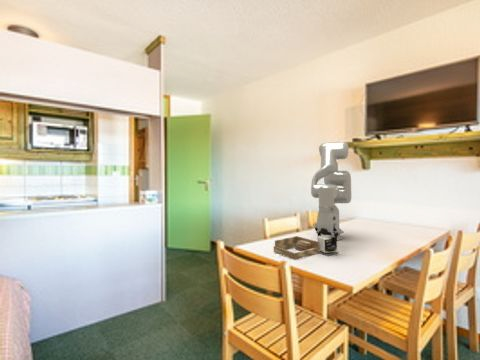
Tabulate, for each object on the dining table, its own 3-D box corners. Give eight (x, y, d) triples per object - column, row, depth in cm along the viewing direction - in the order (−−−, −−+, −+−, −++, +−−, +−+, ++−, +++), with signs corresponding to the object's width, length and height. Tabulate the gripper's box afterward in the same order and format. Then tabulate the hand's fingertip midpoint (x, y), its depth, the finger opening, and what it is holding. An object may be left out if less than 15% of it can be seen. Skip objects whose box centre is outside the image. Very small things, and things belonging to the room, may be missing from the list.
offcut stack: (300, 248, 148) (300, 239, 148) (312, 251, 141) (312, 242, 141) (295, 249, 146) (295, 240, 146) (307, 253, 139) (307, 244, 139)
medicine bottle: (325, 253, 134) (324, 229, 134) (317, 249, 141) (316, 226, 141) (337, 251, 136) (336, 228, 136) (329, 247, 143) (328, 225, 143)
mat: (326, 249, 144) (326, 248, 144) (338, 253, 138) (338, 252, 137) (315, 252, 140) (315, 251, 140) (328, 256, 133) (328, 255, 133)
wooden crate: (296, 246, 152) (296, 236, 152) (318, 253, 138) (318, 241, 138) (273, 251, 143) (273, 240, 142) (294, 259, 129) (294, 247, 129)
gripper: (345, 210, 133) (346, 245, 133) (318, 207, 147) (318, 238, 148) (335, 212, 129) (336, 247, 129) (308, 208, 143) (309, 240, 144)
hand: (327, 242), depth 139 cm, fingers closed on medicine bottle, 8 cm apart
